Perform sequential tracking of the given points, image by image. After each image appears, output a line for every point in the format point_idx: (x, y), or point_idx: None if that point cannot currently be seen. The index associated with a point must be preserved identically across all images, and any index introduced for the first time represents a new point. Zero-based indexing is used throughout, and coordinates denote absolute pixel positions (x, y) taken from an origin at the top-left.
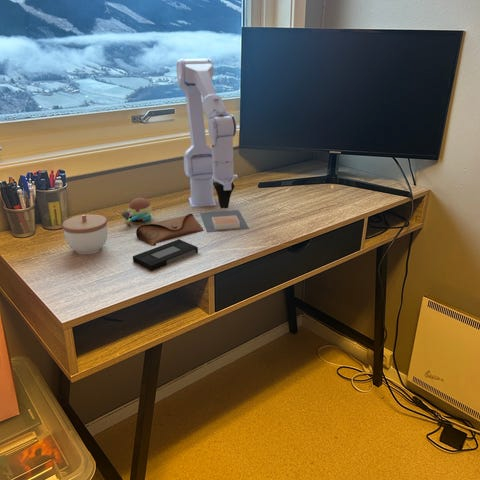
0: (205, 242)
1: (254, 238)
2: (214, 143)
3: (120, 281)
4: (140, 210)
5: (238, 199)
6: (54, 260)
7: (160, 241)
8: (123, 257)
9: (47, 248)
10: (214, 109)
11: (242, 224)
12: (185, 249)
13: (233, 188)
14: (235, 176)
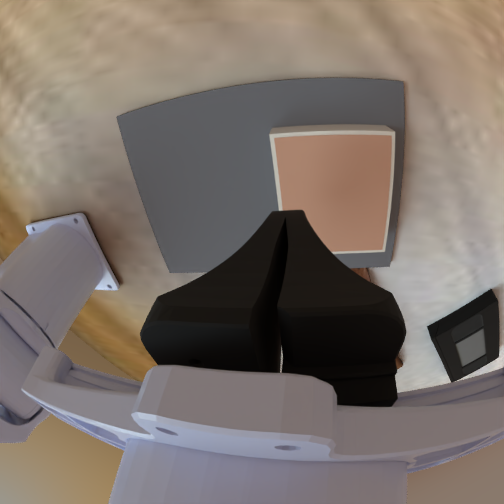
0: (451, 270)
1: (485, 96)
2: None
3: (489, 370)
4: None
5: (18, 136)
6: None
7: (399, 360)
8: (424, 385)
9: None
10: None
11: (338, 101)
12: (489, 322)
13: (390, 295)
14: (328, 451)
